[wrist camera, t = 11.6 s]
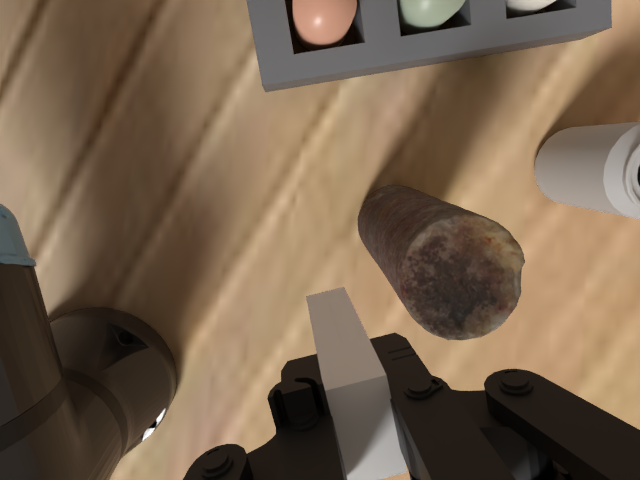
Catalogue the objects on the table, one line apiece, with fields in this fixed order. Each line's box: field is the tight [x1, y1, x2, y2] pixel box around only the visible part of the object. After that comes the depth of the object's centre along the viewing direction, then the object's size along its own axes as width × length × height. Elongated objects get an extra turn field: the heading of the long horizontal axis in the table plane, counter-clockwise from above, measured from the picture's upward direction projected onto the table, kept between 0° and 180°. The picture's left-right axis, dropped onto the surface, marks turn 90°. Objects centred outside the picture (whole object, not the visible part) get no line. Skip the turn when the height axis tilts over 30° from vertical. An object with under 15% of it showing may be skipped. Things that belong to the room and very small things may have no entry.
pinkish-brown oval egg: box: [293, 0, 357, 51], centre depth 35 cm, size 5×5×5 cm
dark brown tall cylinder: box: [358, 185, 525, 340], centre depth 32 cm, size 8×7×20 cm
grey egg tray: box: [247, 0, 612, 92], centre depth 36 cm, size 30×10×4 cm, turn 99°
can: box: [534, 121, 640, 219], centre depth 36 cm, size 8×8×12 cm
